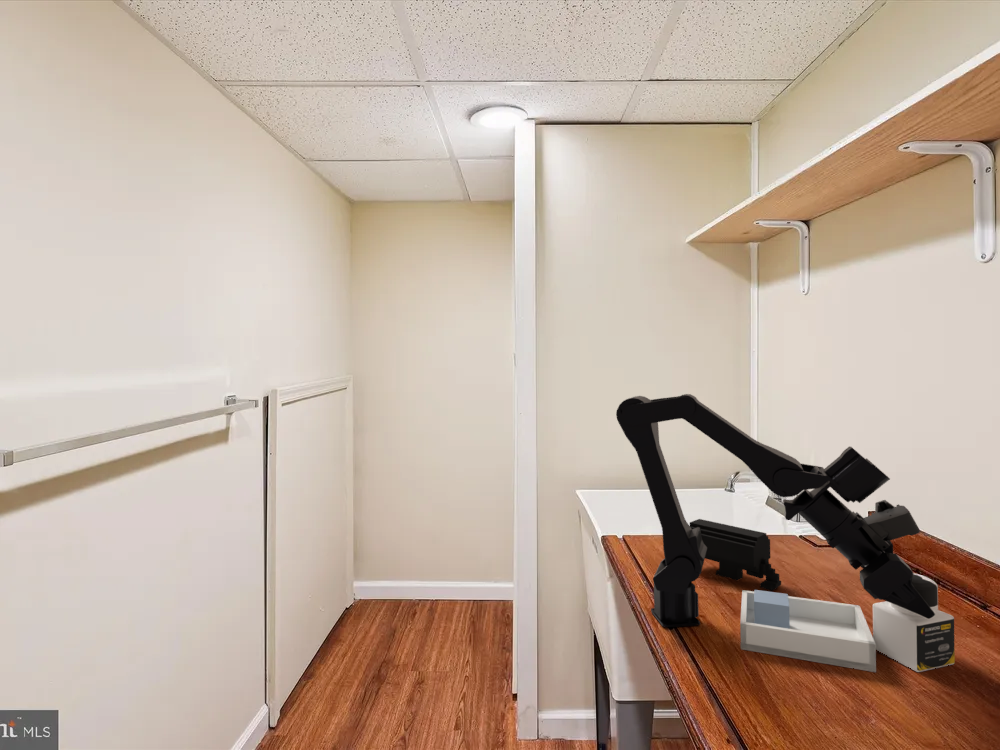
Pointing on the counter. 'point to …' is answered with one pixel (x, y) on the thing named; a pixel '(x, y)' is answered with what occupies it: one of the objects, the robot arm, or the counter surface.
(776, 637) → the tote
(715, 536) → the security camera
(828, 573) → the counter surface
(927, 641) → the medicine bottle
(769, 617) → the block
